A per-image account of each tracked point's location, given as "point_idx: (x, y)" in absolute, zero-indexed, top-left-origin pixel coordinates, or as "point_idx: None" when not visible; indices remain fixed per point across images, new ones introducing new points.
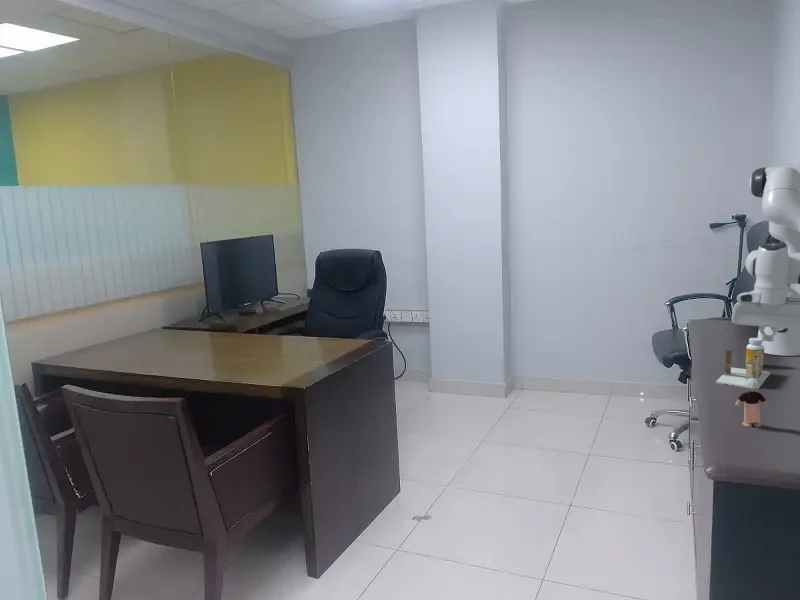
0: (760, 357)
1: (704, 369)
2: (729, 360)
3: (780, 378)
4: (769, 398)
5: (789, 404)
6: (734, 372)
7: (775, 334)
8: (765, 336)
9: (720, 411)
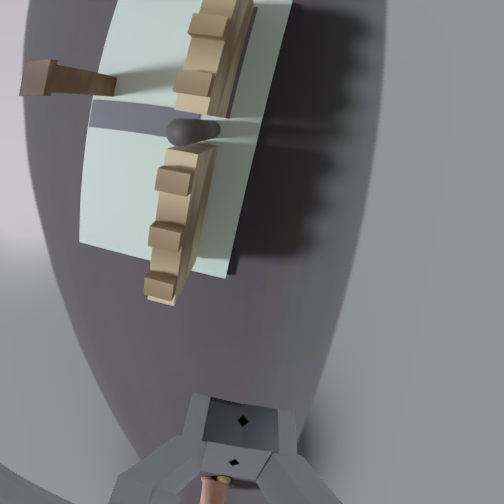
0: (230, 29)
1: (40, 49)
2: (74, 92)
3: (332, 66)
4: (258, 360)
5: (306, 391)
6: (132, 62)
7: (306, 468)
8: (207, 464)
9: (155, 444)
